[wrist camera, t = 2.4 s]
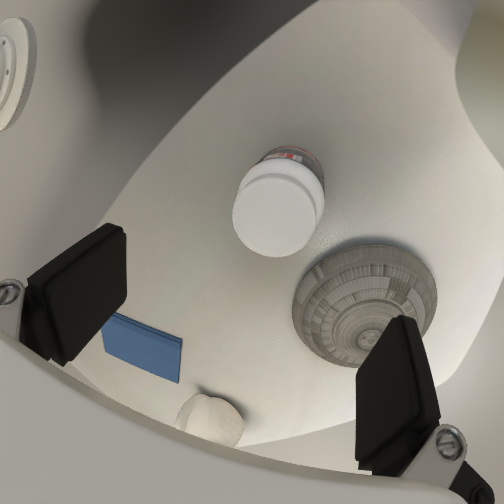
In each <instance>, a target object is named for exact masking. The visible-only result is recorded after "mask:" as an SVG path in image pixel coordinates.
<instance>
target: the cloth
mask: <svg viewBox="0 0 504 504" xmlns="http://www.w3.org/2000/svg"><path fill="white" fill-rule="evenodd" d="M101 331H102V337H103V342H104V348H105V352H107V353H109V354H111V355H113V356H115V357H117V358H119V359H121V360H123V361H125V362H128V363H130V364H132V365H134V366H136V367H139V368H141V369H143V370H146V371H148V372H150V373H153V374H155V375H157V376H160V377H162V378H165V379H167V380H170V381H172V382H175V383H177V384H178V382H179V370H180V357H181V345H182V339H180V338H177V337H174V336H172V335H169V334H167V333H164V332H161V331H159V330H156V329H154V328H151V327H149V326H146V325H144V324H142V323H139V322H137V321H134V320H132V319H130V318H127V317H125V316H123V315H120V314H118V313H116V312H115V313H114V314H113V315H112V316H111V317H110V318H109V320H108V321H107V322H106V323H105V324H104V325H103V326H102V327H101Z"/></svg>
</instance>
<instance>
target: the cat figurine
mask: <svg viewBox="0 0 504 504" xmlns="http://www.w3.org/2000/svg"><path fill="white" fill-rule="evenodd" d="M175 428H176V429H178V430H181V431H185V432H186V433H189V434H192V435H194V436H197V437H200V438H203V439H205V440H208V441H211V442H214V443H217V444H220V445H224V446H227V447H230V448H233V447H234V446H235V445H236V444H237V443H238V441H239V440H240V438H241V436H242V433H243V429H244V422H243V419H242V417H241V416H240V414H239V413H238V412H237V410H236V409H235V408H234V407H233V406H232V405H231V404H229V403H228V402H227V401H225V400H223V399H221V398H217V397H208V396H207V395H204V394H196V395H194V396H192V397H191V398H189V399H188V400H187V401H186V402H185V404H184V405H183V406H182V408H181V409H180V411H179V413H178V416H177V419H176V423H175Z"/></svg>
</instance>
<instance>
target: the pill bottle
mask: <svg viewBox="0 0 504 504" xmlns="http://www.w3.org/2000/svg"><path fill="white" fill-rule="evenodd" d="M324 206H325V193H324V176H323V172H322V169H321V166H320V164H319V163H318V161H317V160H316V159H315V157H314V156H313V155H311V154H310V153H309V152H308V151H306V150H304V149H302V148H299V147H294V146H283V147H278V148H275V149H273V150H271V151H270V152H268V153H267V154H266V155H265V156H264V157H263V158H262V159H260V160H259V161H258V162H257V163H256V164H255V165H254V166H253V167H252V168H251V169H250V170H249V171H248V172H247V173H246V174H245V176H244V177H243V179H242V181H241V183H240V185H239V188H238V192H237V198H236V200H235V202H234V205H233V211H232V220H233V225H234V229H235V231H236V233H237V235H238V237H239V238H240V240H241V241H242V242H243V243H244V244H245V245H246V246H247V247H248V248H249V249H251V250H252V251H254V252H256V253H258V254H261V255H264V256H268V257H284V256H288V255H291V254H294V253H296V252H297V251H299V250H300V249H302V248H303V247H304V246H305V245H306V244H307V243H308V242H309V240H310V239H311V237H312V235H313V233H314V230H315V229H316V227H317V226H318V224H319V223H320V221H321V219H322V216H323V213H324Z"/></svg>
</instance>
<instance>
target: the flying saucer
mask: <svg viewBox="0 0 504 504" xmlns="http://www.w3.org/2000/svg"><path fill="white" fill-rule="evenodd" d="M436 306H437V289H436V284H435V281H434V279H433V276H432V274H431V273H430V271H429V269H428V268H427V267H426V266H425V264H424V263H423V262H422V261H421V260H419V259H418V258H417V257H415V256H414V255H412V254H411V253H409V252H407V251H405V250H402V249H400V248H396V247H393V246H388V245H377V244H371V245H361V246H355V247H351V248H348V249H345V250H342V251H339V252H337V253H335V254H333V255H331V256H329V257H327V258H326V259H324V260H323V261H321V262H320V263H318V264H317V265H316V266H315V267H314V268H313V269H312V270H311V271H310V272H309V273H308V274H307V275H306V276H305V277H304V279H303V280H302V282H301V283H300V285H299V287H298V289H297V291H296V293H295V296H294V300H293V305H292V318H293V323H294V326H295V329H296V332H297V333H298V335H299V337H300V338H301V340H302V341H303V343H304V344H305V345H306V346H307V347H308V348H309V349H310V350H311V351H312V352H314V353H315V354H316V355H318V356H319V357H321V358H323V359H324V360H326V361H329V362H331V363H333V364H336V365H340V366H344V367H351V368H360V366H361V365H362V363H363V362H364V360H365V359H366V357H367V356H368V354H369V353H370V351H371V350H372V348H373V347H374V345H375V344H376V342H377V341H378V339H379V338H380V336H381V335H382V333H383V331H384V330H385V328H386V327H387V325H388V323H389V322H390V320H391V319H392V318H393V317H395V318H396V317H397V316H398V315H404V316H408V317H411V318H414V319H415V320H416V322H417V325H418V328H419V331H420V335H421V338H422V337H423V336H424V334H425V333H426V331H427V330H428V328H429V326H430V324H431V322H432V320H433V317H434V314H435V311H436Z"/></svg>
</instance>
